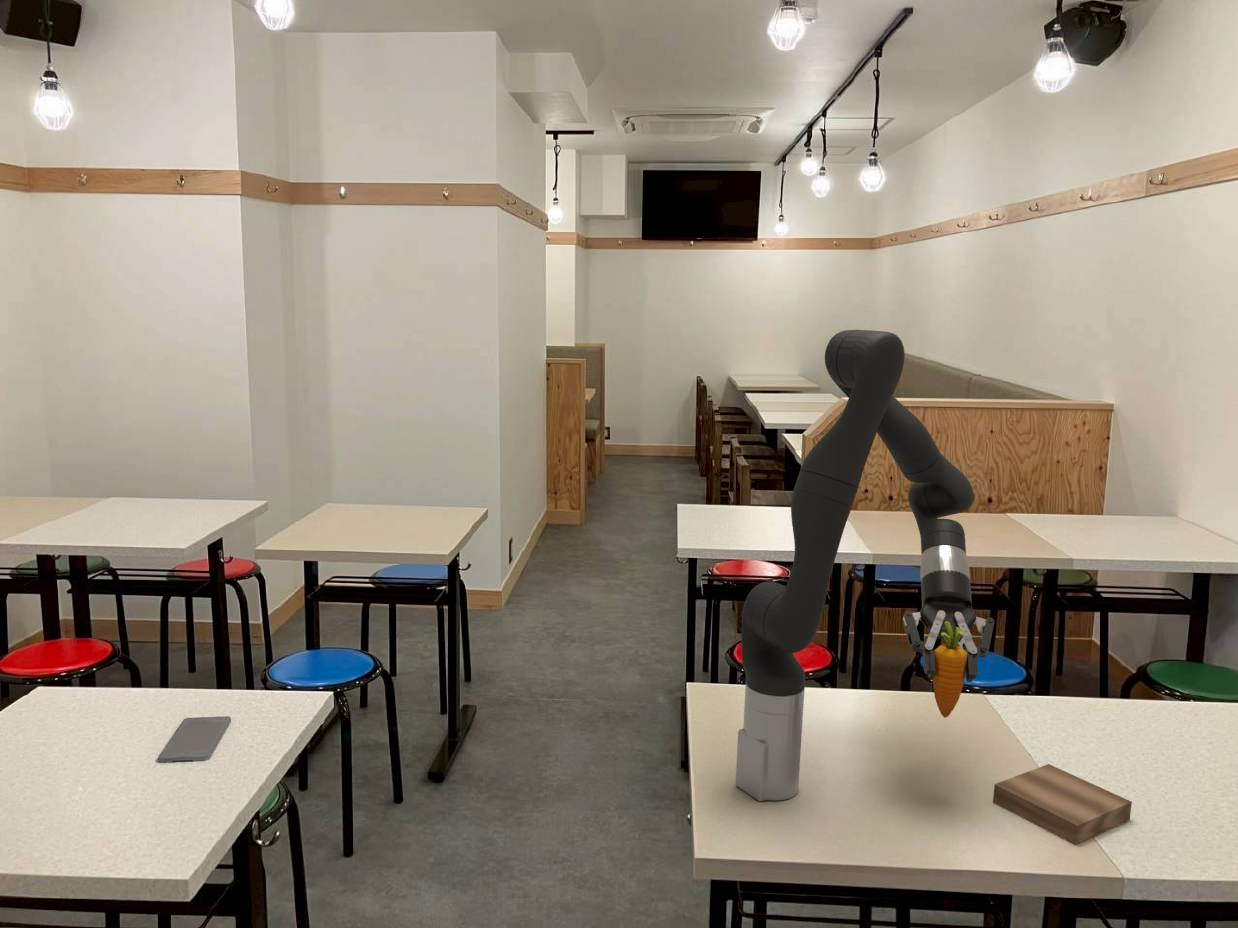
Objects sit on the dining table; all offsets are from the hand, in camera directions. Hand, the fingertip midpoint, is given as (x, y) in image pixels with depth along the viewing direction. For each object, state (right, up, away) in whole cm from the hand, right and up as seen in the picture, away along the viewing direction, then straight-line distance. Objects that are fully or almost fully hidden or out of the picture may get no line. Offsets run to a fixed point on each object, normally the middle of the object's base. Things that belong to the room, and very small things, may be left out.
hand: (951, 677), depth 143 cm
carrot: (0, -7, +3) cm, 8 cm away
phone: (-123, -16, +20) cm, 126 cm away
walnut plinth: (+18, -22, +4) cm, 29 cm away
